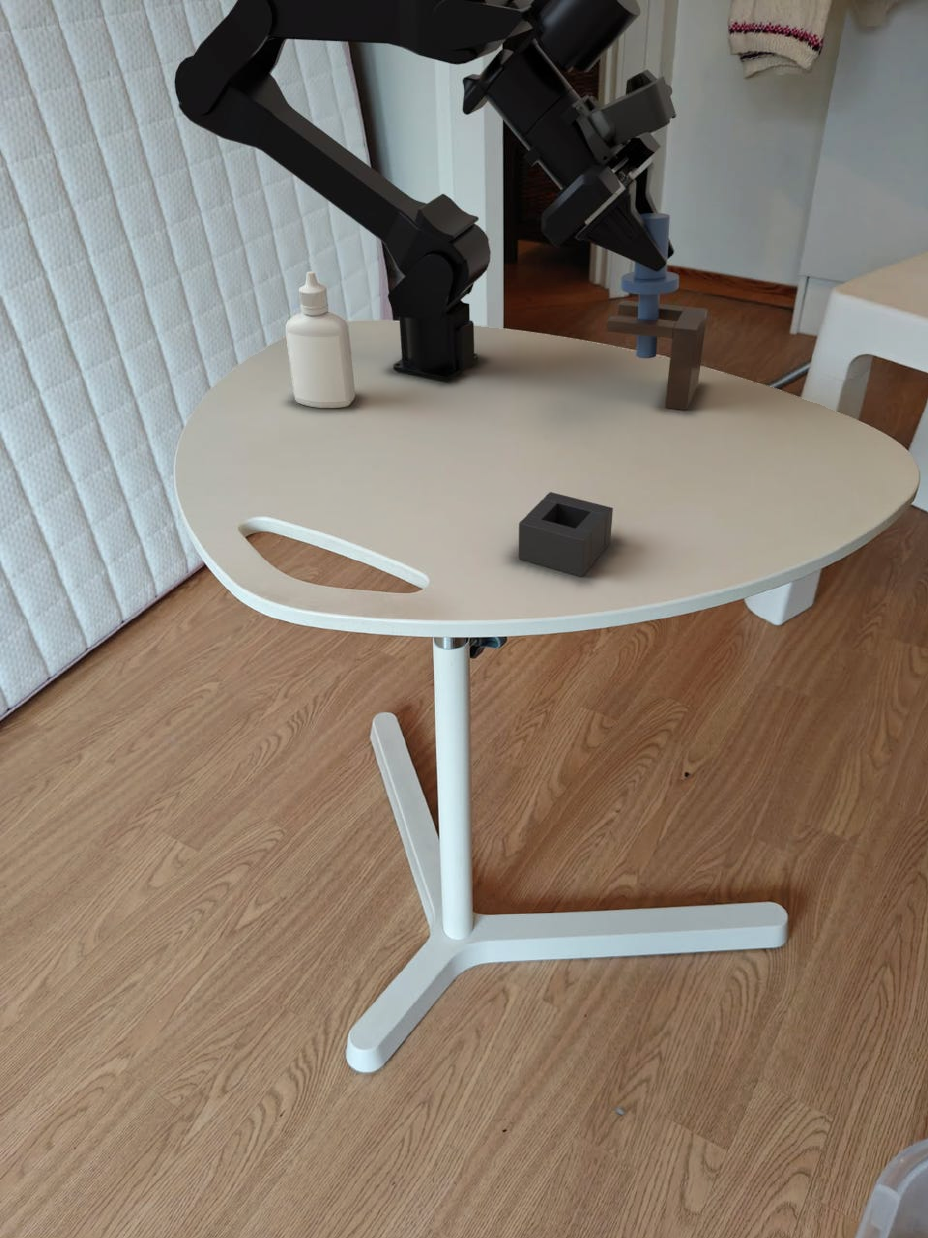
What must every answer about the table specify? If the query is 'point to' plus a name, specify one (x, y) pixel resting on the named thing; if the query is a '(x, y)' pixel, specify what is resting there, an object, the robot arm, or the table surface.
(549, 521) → the holder
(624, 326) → the stand
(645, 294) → the peg
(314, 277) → the eye dropper bottle
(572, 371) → the table surface
